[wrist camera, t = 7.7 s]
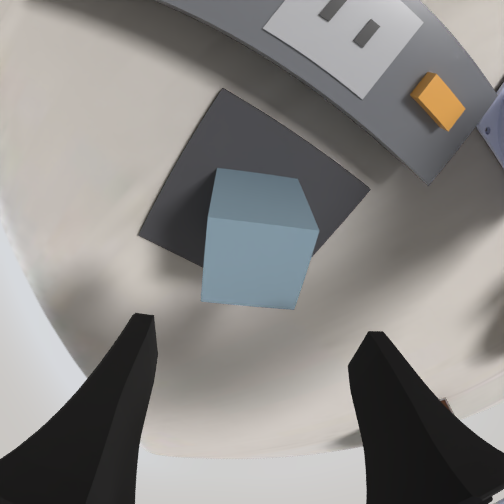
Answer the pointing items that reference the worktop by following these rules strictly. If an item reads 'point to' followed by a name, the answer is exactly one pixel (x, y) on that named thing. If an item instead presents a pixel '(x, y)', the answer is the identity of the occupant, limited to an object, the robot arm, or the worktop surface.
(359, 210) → the worktop surface
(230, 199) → the block
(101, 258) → the worktop surface
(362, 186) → the mat
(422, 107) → the power strip
